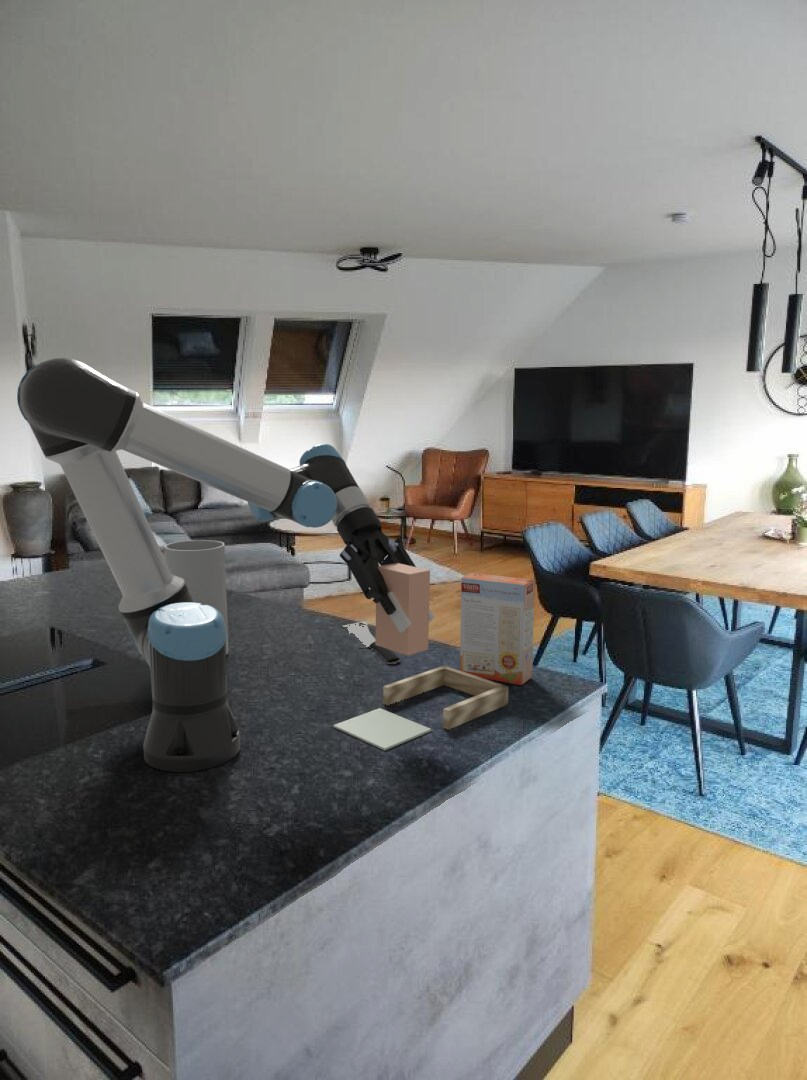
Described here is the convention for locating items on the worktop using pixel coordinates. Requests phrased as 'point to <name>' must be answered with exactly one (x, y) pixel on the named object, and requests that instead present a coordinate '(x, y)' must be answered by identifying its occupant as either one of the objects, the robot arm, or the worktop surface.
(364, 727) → the sage mat
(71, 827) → the worktop surface
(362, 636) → the kitchen cleaver
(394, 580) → the peach block
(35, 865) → the worktop surface
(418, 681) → the birch bay
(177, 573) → the cylinder vase
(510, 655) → the cracker box
